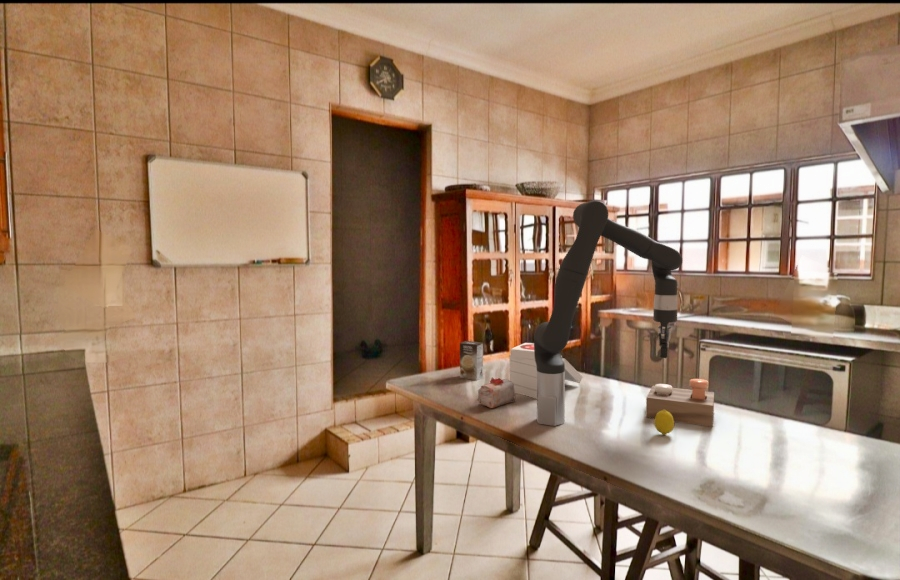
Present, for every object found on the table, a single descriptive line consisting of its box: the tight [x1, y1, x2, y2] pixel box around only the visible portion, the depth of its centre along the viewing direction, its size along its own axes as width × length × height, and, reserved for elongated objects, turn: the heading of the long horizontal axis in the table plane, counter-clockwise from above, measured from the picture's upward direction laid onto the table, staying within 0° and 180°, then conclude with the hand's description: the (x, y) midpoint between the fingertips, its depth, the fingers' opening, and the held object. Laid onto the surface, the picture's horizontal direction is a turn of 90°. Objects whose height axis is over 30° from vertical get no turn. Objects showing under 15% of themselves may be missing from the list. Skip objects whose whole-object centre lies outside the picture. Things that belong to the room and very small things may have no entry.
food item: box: [477, 377, 516, 409], centre depth 187 cm, size 14×8×10 cm, turn 131°
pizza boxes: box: [508, 342, 583, 400], centre depth 206 cm, size 19×30×18 cm, turn 127°
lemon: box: [654, 410, 675, 436], centre depth 154 cm, size 6×6×8 cm
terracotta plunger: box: [689, 378, 709, 400], centre depth 168 cm, size 6×6×8 cm
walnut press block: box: [645, 385, 715, 428], centre depth 171 cm, size 16×20×7 cm
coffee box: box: [459, 340, 484, 381], centre depth 225 cm, size 9×6×16 cm
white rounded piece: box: [654, 383, 673, 396], centre depth 174 cm, size 6×6×8 cm
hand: (664, 357), depth 173 cm, fingers closed
